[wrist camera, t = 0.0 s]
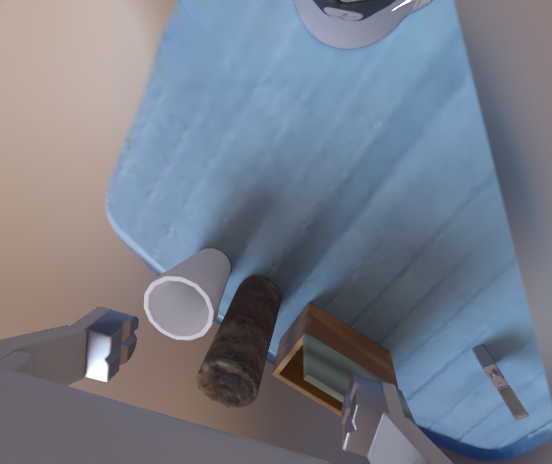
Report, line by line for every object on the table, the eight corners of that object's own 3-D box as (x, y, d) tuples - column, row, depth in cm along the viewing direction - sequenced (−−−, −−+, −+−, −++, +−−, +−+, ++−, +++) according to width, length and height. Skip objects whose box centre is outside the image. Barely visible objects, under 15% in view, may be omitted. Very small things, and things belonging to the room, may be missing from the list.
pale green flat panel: (421, 450, 39) (425, 445, 39) (303, 379, 38) (307, 373, 38) (397, 394, 48) (401, 390, 48) (302, 337, 48) (306, 332, 48)
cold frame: (357, 387, 60) (360, 428, 52) (279, 340, 59) (271, 374, 51) (390, 351, 56) (398, 390, 49) (309, 302, 56) (304, 332, 48)
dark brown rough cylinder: (291, 304, 56) (269, 400, 38) (256, 323, 59) (219, 423, 40) (264, 267, 55) (227, 349, 36) (228, 288, 57) (177, 375, 39)
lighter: (471, 349, 54) (493, 387, 46) (482, 344, 53) (506, 382, 46) (494, 381, 55) (518, 424, 48) (505, 377, 55) (531, 419, 47)
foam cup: (222, 230, 54) (188, 265, 42) (250, 279, 56) (227, 326, 44) (173, 253, 57) (129, 292, 45) (203, 299, 59) (168, 348, 47)
